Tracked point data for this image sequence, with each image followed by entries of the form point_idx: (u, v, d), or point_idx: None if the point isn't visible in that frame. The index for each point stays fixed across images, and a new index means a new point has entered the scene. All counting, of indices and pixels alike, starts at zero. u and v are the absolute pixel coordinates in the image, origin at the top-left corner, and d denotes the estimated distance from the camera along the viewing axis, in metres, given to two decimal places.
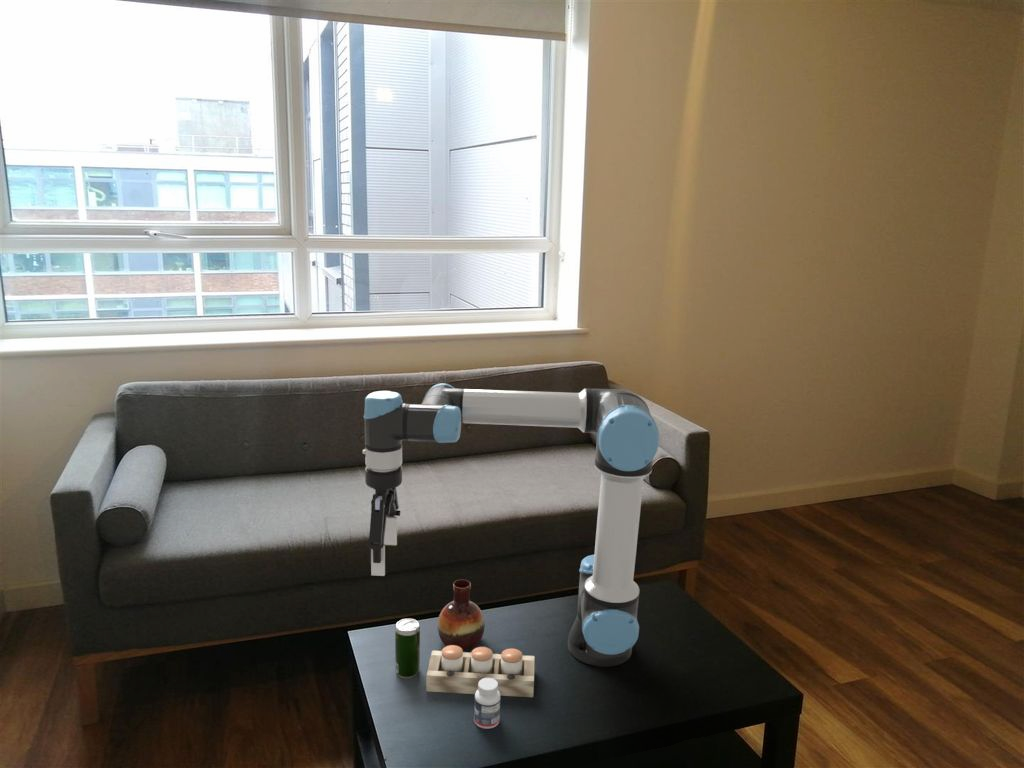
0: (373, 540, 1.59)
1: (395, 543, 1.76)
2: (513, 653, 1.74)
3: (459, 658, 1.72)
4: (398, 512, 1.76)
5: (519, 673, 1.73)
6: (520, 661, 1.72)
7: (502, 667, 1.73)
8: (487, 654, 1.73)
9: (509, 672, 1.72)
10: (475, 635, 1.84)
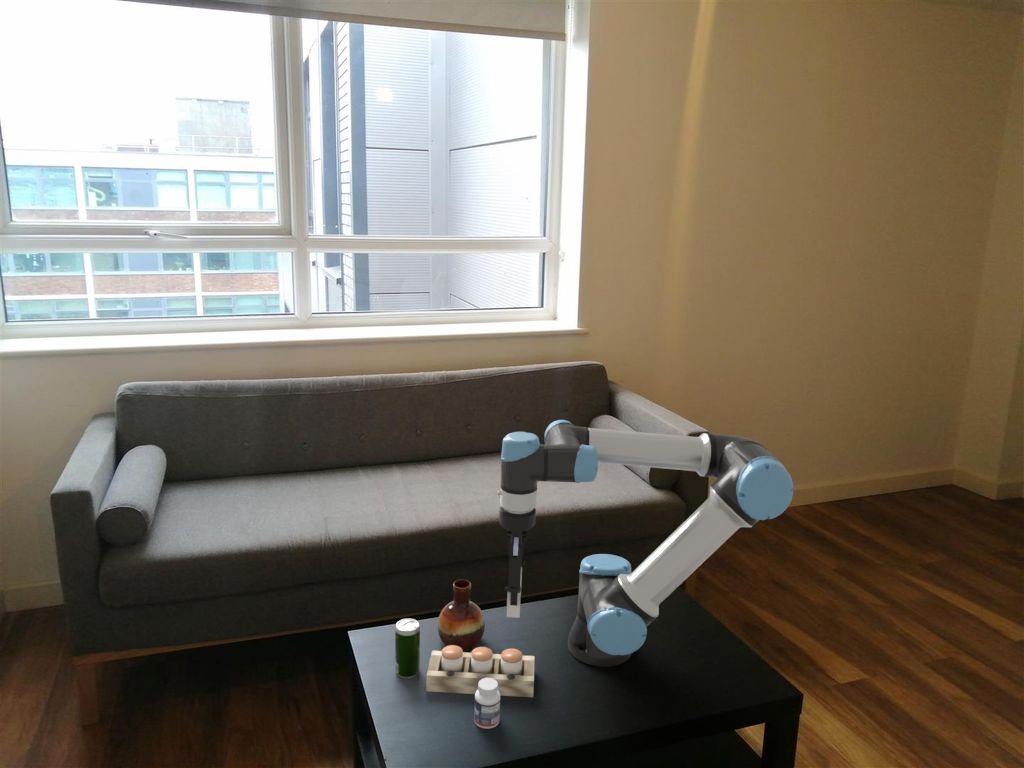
0: (512, 585, 1.60)
1: None
2: (513, 653, 1.74)
3: (459, 658, 1.72)
4: (523, 562, 1.74)
5: (519, 673, 1.73)
6: (520, 661, 1.72)
7: (502, 667, 1.73)
8: (487, 654, 1.73)
9: (509, 672, 1.72)
10: (475, 635, 1.84)
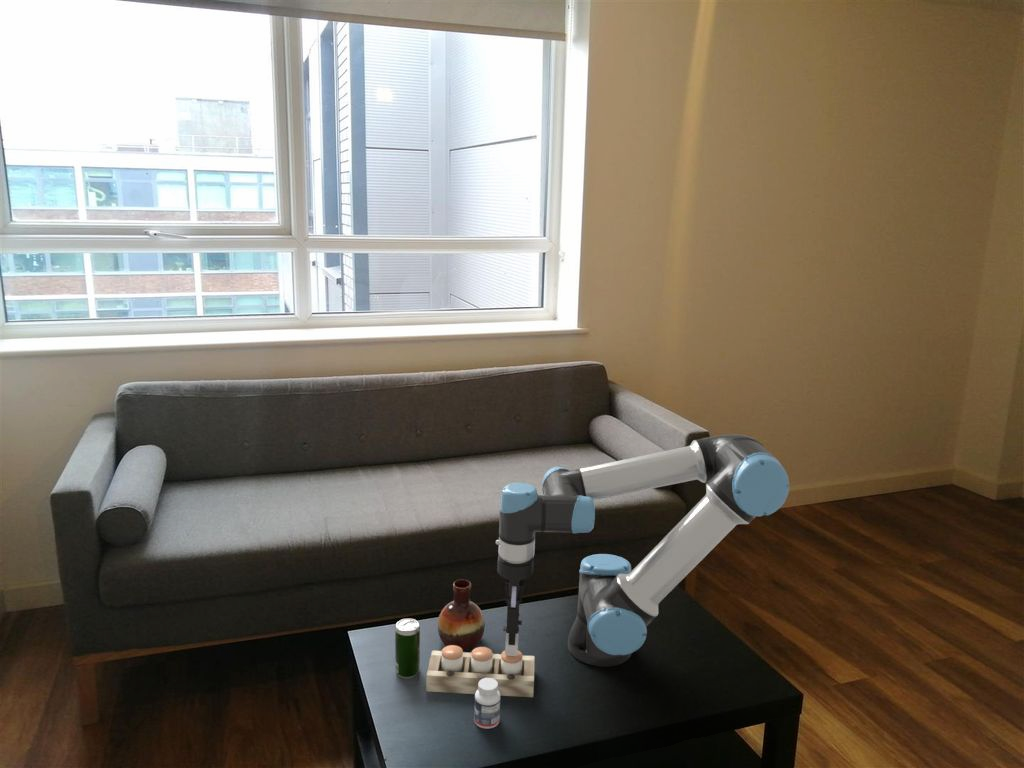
0: (510, 628, 1.67)
1: None
2: None
3: (459, 658, 1.72)
4: (520, 621, 1.73)
5: (519, 673, 1.73)
6: (520, 661, 1.72)
7: (502, 667, 1.73)
8: (487, 654, 1.73)
9: (509, 672, 1.72)
10: (475, 635, 1.84)
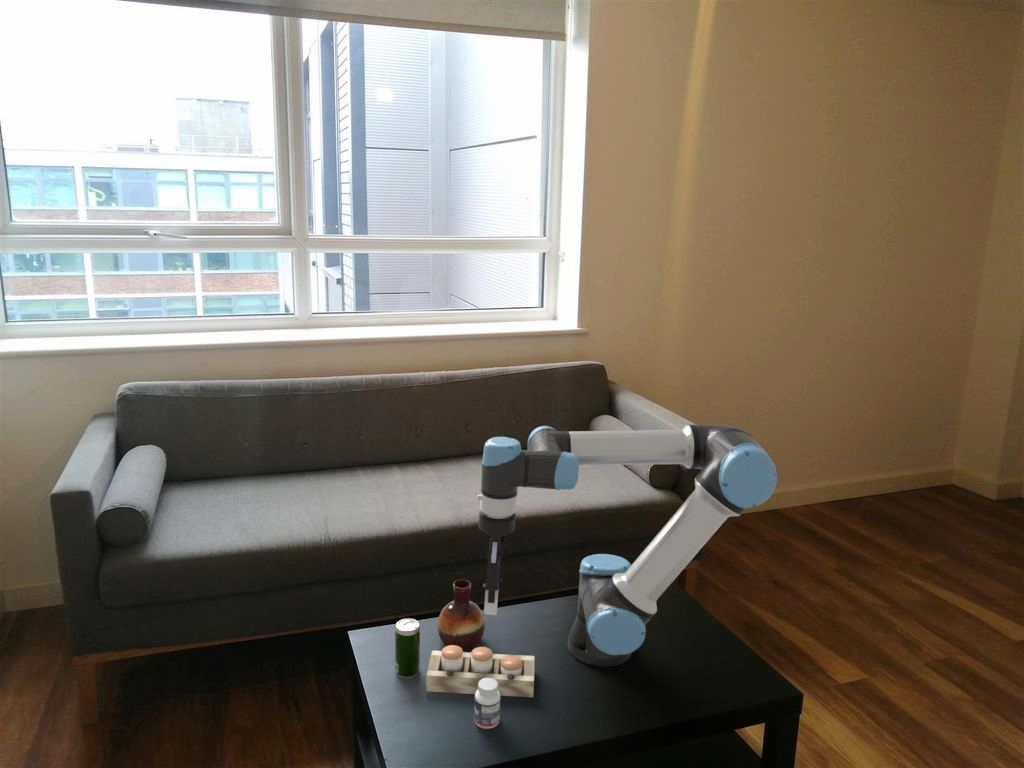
0: (490, 585, 1.65)
1: None
2: (513, 660, 1.74)
3: (459, 658, 1.72)
4: (500, 580, 1.70)
5: None
6: (520, 669, 1.73)
7: (502, 674, 1.73)
8: (487, 654, 1.73)
9: None
10: (475, 635, 1.84)
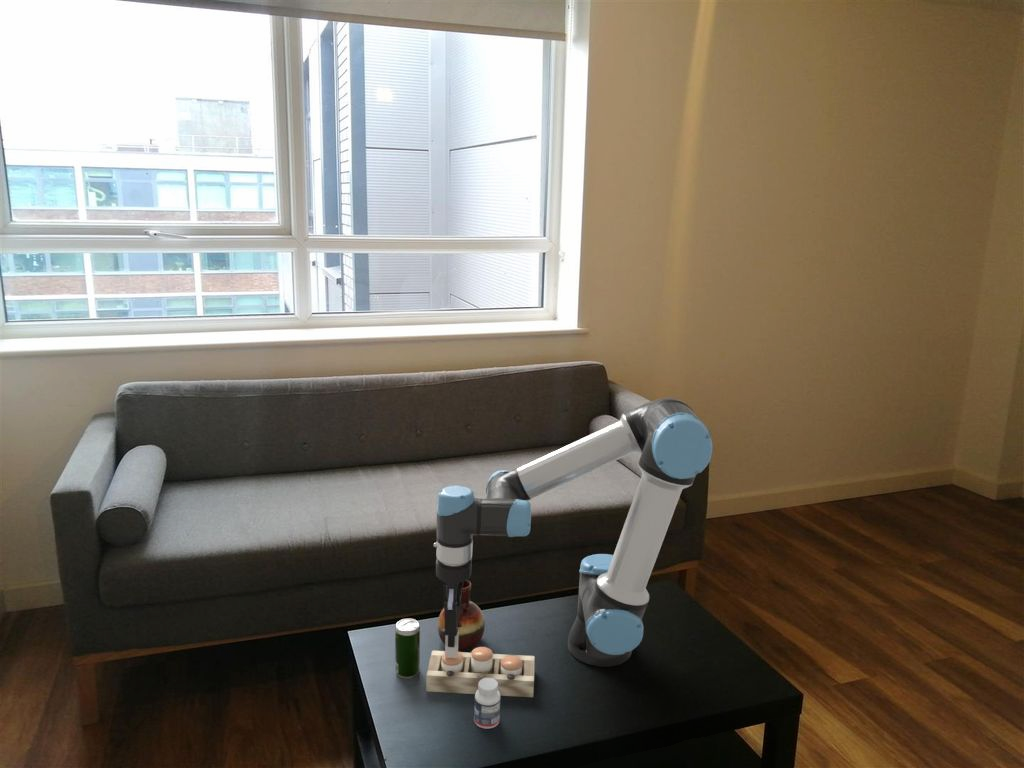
0: (449, 630, 1.68)
1: None
2: (513, 660, 1.74)
3: (459, 664, 1.73)
4: (460, 624, 1.74)
5: None
6: (520, 669, 1.73)
7: (502, 674, 1.73)
8: (487, 654, 1.73)
9: None
10: (475, 635, 1.84)
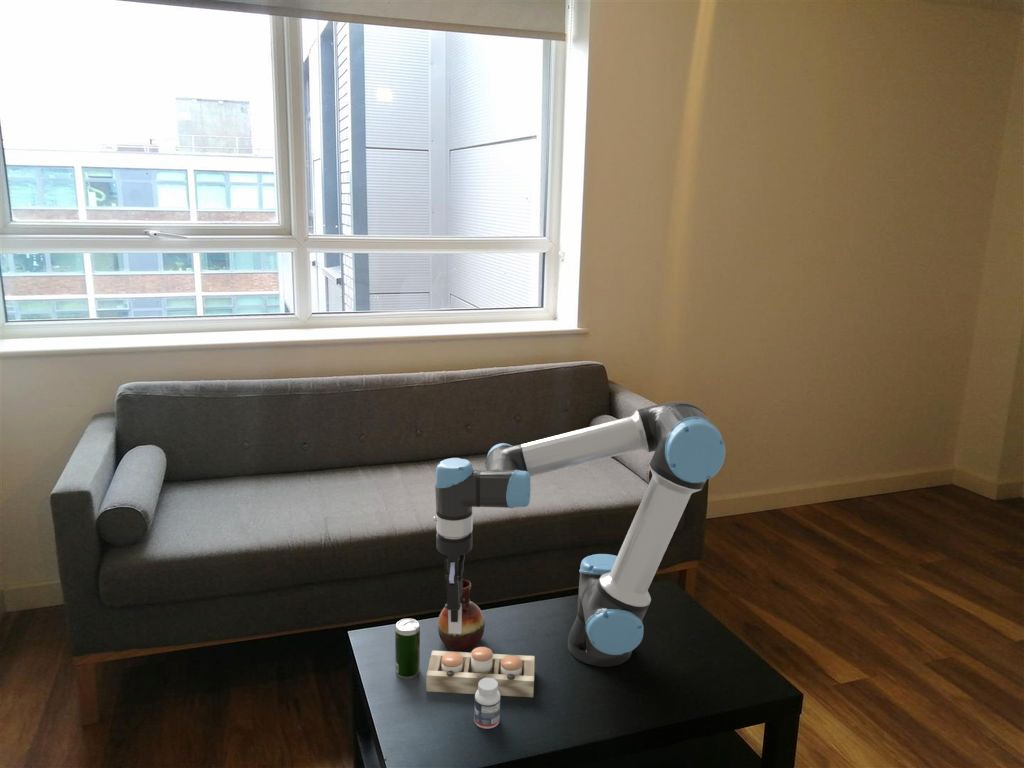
0: (451, 605, 1.66)
1: None
2: (513, 660, 1.74)
3: (459, 666, 1.73)
4: (463, 598, 1.72)
5: None
6: (520, 669, 1.73)
7: (502, 674, 1.73)
8: (487, 654, 1.73)
9: None
10: (475, 635, 1.84)
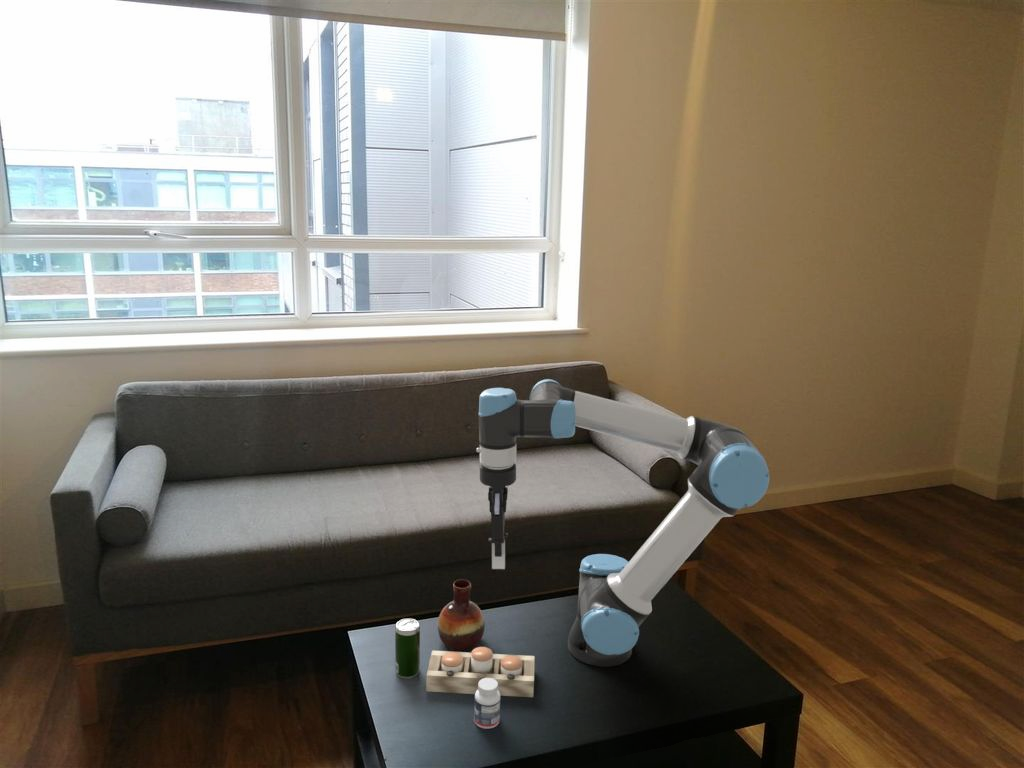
0: (496, 538, 1.64)
1: None
2: (513, 660, 1.74)
3: (459, 666, 1.73)
4: (506, 533, 1.69)
5: None
6: (520, 669, 1.73)
7: (502, 674, 1.73)
8: (487, 654, 1.73)
9: None
10: (475, 635, 1.84)
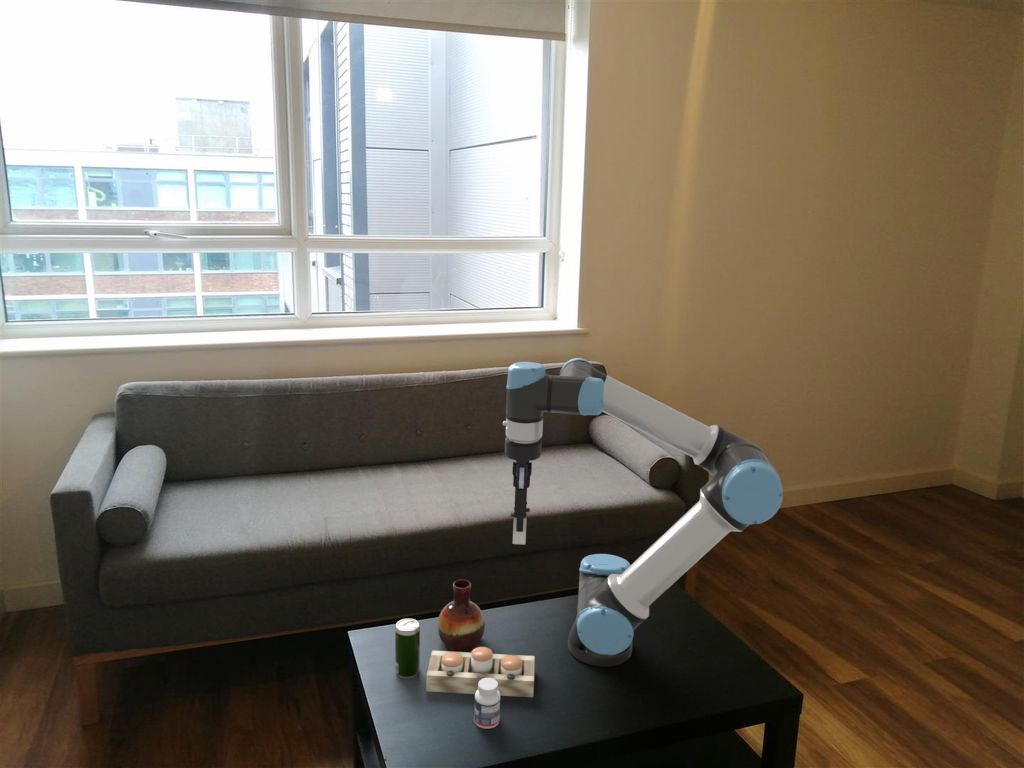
0: (518, 512, 1.63)
1: None
2: (513, 660, 1.74)
3: (459, 666, 1.73)
4: (528, 509, 1.69)
5: None
6: (520, 669, 1.73)
7: (502, 674, 1.73)
8: (487, 654, 1.73)
9: None
10: (475, 635, 1.84)
